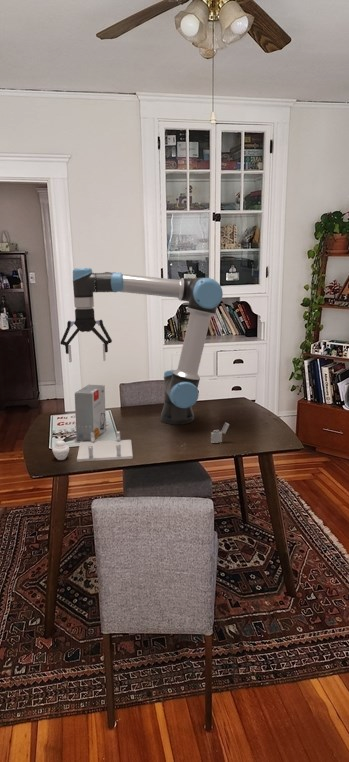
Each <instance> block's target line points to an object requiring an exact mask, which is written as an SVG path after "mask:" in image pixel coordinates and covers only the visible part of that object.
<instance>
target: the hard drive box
mask: <svg viewBox="0 0 349 762" xmlns="http://www.w3.org/2000/svg"><path fill="white" fill-rule="evenodd" d="M105 390H106V389H105V385H103V384H87V385H86V386H84V387H82V388H81V389H79V390H78V391H75V392H74V410H75V414H74V415H75V437H76V438H75V440H77V441H86V442H91V434H90V433H91V432H94V433H95V440H96V439H98V437H100V435H102V434H103V433H104V432H105V431H106V430H107V419H106V415H107V413H106V394H105V393H106V392H105Z"/></svg>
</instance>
